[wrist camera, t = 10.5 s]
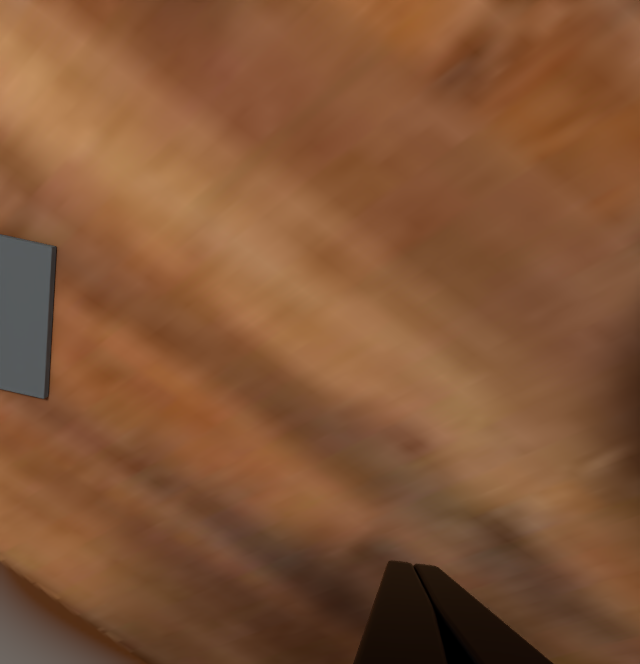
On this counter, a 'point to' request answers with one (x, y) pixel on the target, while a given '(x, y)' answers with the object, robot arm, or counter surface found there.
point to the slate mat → (26, 315)
